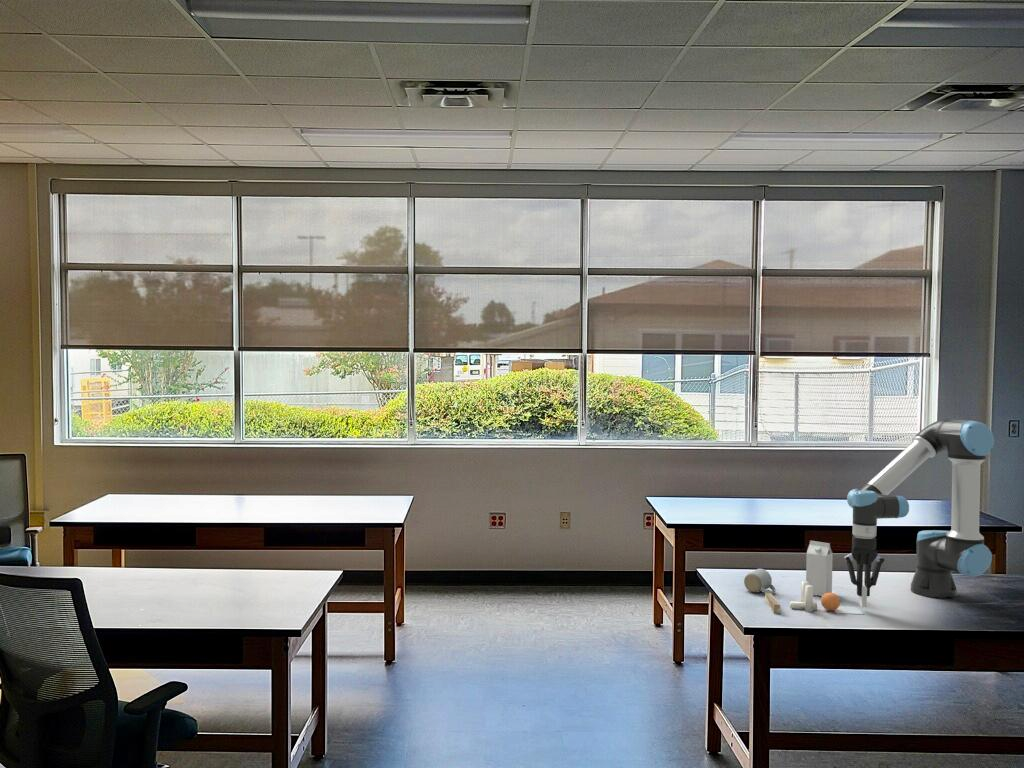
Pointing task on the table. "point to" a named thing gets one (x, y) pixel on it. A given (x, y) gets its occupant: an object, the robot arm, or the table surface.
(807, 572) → the milk carton
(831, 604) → the ball
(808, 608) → the pin
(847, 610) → the white square tile
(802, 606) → the pin front
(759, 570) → the ceramic mug
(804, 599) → the pin
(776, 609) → the bar
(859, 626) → the table surface
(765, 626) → the table surface
